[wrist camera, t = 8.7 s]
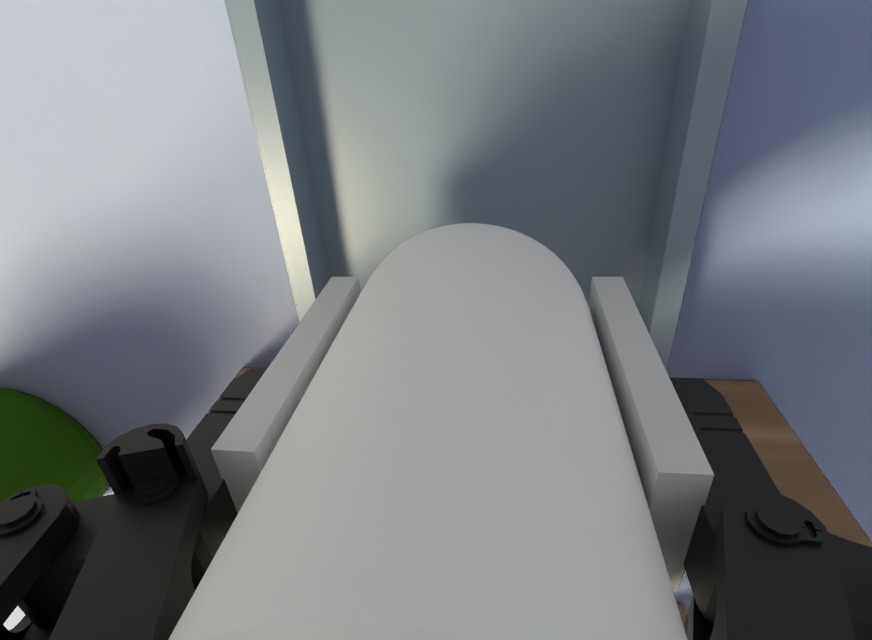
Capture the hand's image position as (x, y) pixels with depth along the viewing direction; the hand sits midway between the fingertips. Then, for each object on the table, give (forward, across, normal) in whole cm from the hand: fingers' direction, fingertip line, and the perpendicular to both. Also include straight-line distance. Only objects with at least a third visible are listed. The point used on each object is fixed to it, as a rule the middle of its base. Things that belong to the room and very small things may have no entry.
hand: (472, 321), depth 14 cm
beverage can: (+1, 0, 0) cm, 1 cm away
